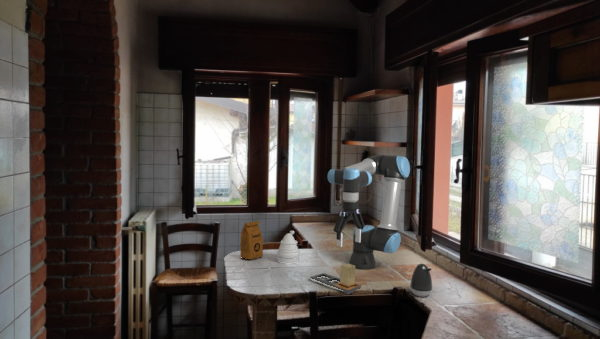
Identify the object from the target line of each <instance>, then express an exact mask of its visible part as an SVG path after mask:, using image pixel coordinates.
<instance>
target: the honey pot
mask: <svg viewBox="0 0 600 339" xmlns="http://www.w3.org/2000/svg"><path fill="white" fill-rule="evenodd" d="M294 234H295V231H294V230H289V233H286V234H285V235H284V236H283V238H282V239H281V240H280V245H279V247H278V250H277V255H276V257H277V260H278V261H280V262H285V263H294V262H298V261H299V262H300V252H299V247H298V245H297V244H298V241H297V239H296V240H295V237H294V236H293V235H294ZM277 260H276V261H277ZM299 262H298V263H299Z"/></svg>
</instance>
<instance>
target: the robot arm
mask: <svg viewBox="0 0 600 339" xmlns="http://www.w3.org/2000/svg"><path fill="white" fill-rule="evenodd" d="M410 172H411V165H410V161H409V160H408V158H407V157H405V156H402V155H387V154H380V155H374V156H370V157H367V158H364V159H363V160H362V161H361V162H357V163H354V164H352V165H348V166H345V167H343V168H340V169H337V168H335V169H334V168H332V169H330V170H329V171H328V172H327V181H328V182H329V183H330V184H334V185H341V186H342V204H341V205H342V206H341V208H342V209H343V211H339V212H338V216H337V219H336V222H335V225H334V227H333V232H334V233H336V246H337V247H341V248H342V247H343V230H344V229H345V226H346V225H347V223H348V222H349V221H353V224H354V225H355V227H354V229H353V238H352V240H353V243H352V253H351V256H350V259H349V262H348V264H352V265H355V269H358V270H372V269H375V268H376V266H377V262H376V259H375V255H374V251H378V252H382V253H386V254H388V253H389V254H394V253H396V252H397V251H398V249H399V247H400V244H401V242H402V238H401V234H400V232H399V229H398V228H397V219H398V211H399V205H400V198H401V197H400V196H401V187H402V184H403V183H404V182H405V180H406V178H408V177H409V176H410ZM372 175H375V176H376V175H377V176H383V180H384V181H385V185H384V186H385V187H384V193H383V201H382V208H381V216H380V222H379V224H378V225H377V226H376V229H375V226H374V225H371V224H366V225H365V222H364V219H363V216H362V209H359V191H360V190H359V189H360V188H361V187H367V186H369V185H370V184H371V183H372V182H373V177H372Z"/></svg>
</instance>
